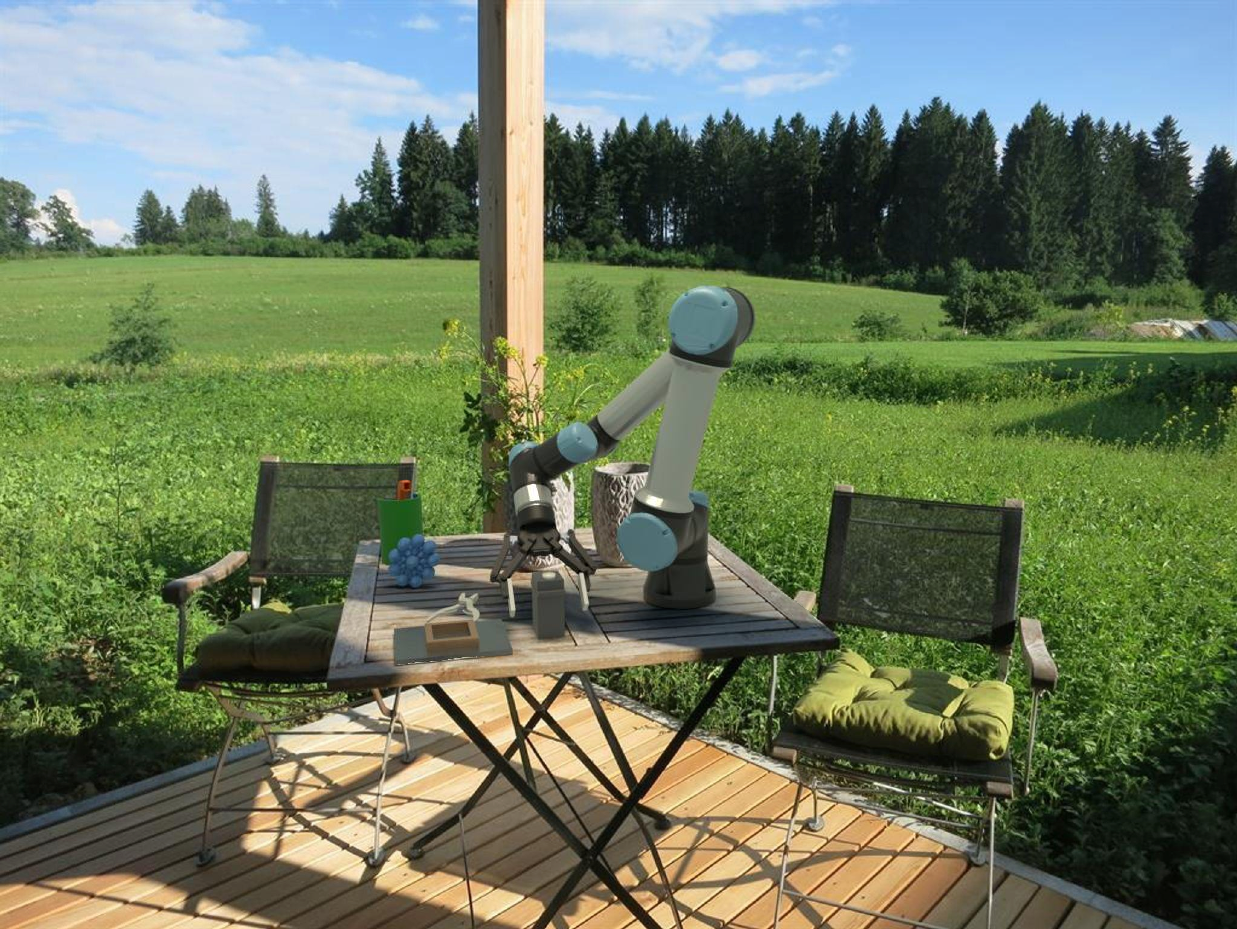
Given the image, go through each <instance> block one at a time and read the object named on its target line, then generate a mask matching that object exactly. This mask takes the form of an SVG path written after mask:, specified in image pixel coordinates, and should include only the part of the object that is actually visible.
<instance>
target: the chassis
mask: <svg viewBox="0 0 1237 929" xmlns="http://www.w3.org/2000/svg"><path fill="white" fill-rule="evenodd" d="M393 636H394V637H393V640H394V643H393V644H394V646H393V647H394V666H395V667H397V666H396V665H398V664H408V663H415V662H430V661H441V662H443V661H442V660H448V659H454V658H462V657H476V656H477V657H481V656H491V657H498V656H509V655H510V656H511V655H513V651H514V650H513V647H512V644H511V642H510V638H509V636H508V633H507V631H506V627H505V625H504V623H503V621H502V618H497V619H486V620H478V621H474V619H473V618H472V619H461V620H450V621H439V622H438V621H437V622H429V623H427V622H426V623H424V624H423V625H421V626H418V625H417V626H409V627H400V628H397V627H396V628H393ZM481 658H482V657H481Z"/></svg>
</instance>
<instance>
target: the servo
mask: <svg viewBox="0 0 1237 929" xmlns="http://www.w3.org/2000/svg"><path fill="white" fill-rule="evenodd" d="M530 585H531V596H532V599H531V600H532V601H531V603H532V606H531V607H532V629H533V631H534V634H535V637H537V640H548V639H558V638H559V639H560V638H566V628H565V626H566V622H565V620H566V619H565V614H566V613H565V612H566V611H565V596H566V590H565V579H564V577H563V576H562V574H561V573H560V571H559V570H549V571H534V572H533V571H532V572H531V579H530Z"/></svg>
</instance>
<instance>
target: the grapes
mask: <svg viewBox="0 0 1237 929" xmlns="http://www.w3.org/2000/svg"><path fill="white" fill-rule="evenodd" d="M436 550H437V543H436V542H435V541H434V540H431V539H430V540H429V539H428V540H427V541H426V540H425V536H424V534H423V535H421V534H417V535H415V536H413V538H412V539H411V540H410V539H409V538H402V539H400V540H399V542H398V549H393V550H392V551H391V552H390V553H389V560H390V561H391V562H393V563H392V564H391V565H388V568H387V573H388V575H389V576H390V577H396V578H395V579H396V580H395V581H396V585H398V587H405V586H407V585H408V584H409V585H410V587H411V588H415V589H417V588H418V587H420V586H422V584H423V582H424V580H425V581H430V580H431V579H433V578H434V577H435V575H436V569H435V568H434V567H436V566H438V565H439V564H440V561H441V556H440V554H439V553H437V552H435V551H436Z"/></svg>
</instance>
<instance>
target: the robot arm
mask: <svg viewBox="0 0 1237 929" xmlns="http://www.w3.org/2000/svg"><path fill="white" fill-rule="evenodd" d="M668 315H669V316H668V322H667V323H668V332H669V334H670V336H671V342H670V345H669V348H668V349H667V350H666V351H664V353H662V354H661V355H660V356H659V357H658V358H657V359H656V360H654V362H653V363H651V364H650V365H649V366H648V367H647V368H645V370H644V371H643V372H642V373H641V374H640V375H638V376H637V377H636V378H635V379H634V380H633V381H632V382H631V383H630V384H628V385H627V386H626V387H625V388H624V389H623V390H622V391H621V392H620V393H618V394H617V395H616V396H615V397H614V398H613V399H612V400H611V401H610V402H609V403H607V404H606V405H605V406H604V407H603V408H602V409H601V410H600V411H599V412H598V413H596V414H595V415H594V416H593V417H592V418H591V419H590V420H588V421H587V423H585V424H583V422H581V421H576V422H574V423H573V422H572V423H571V424H570V425H568V426H565V427H563V428H562V429H561V430H560V431H559V432H556V433H555V434H554V435H552V436H551V437H550V438H548V439H546V440H545V441H543V442H542V443H538V442H535V441H524V442H523V443H517V444H516V445H514V446H513V447H512V448H511V449H510V451H509V452H508V453H509V454H508V472H509V475H510V480H511V486H512V490H513V492H512V494H513V501H514V502H513V503H514V510H515V515H516V516H515V518H516V523H517V532H518V535H511V534H510V533H508V532H506V533H504V534H503V538H502V546H501V548H500V551H499V552H498V555H497V558H496V560H495V562H494V564H493V567H492V568H491V571H490V574H489V582H491V583H493V584H494V583H498V584H499V586H500V593H501V598H502V600H507V602H508V610H509V612H508V613H509V617H510V618H515V614H516V605H515V604H516V603H515V597H514V590H513V589H514V588H513V582H512V580H513V579H512V576H513V575H514V574H515V572H516V571H517V570H518V569H519V567H520V566H521V565H522V563H523V562H524V561H526V559H527V558H528V557H529V556H530V557H532V558H538V557H549V556H550V555H552V557H554V558H555V559H558V560H559V561H560V562H562V563H563V564H564V565H565V566H567V568H569V569H570V570H571V571H572V572H574V573H575V574H576V575H577V576H578V577H577V584H578V585H577V586H578V590H579V596H580V603H581V608H582V611H583V612H585V611H588V608H589V606H590V605H589V604H590V602H589V597H588V593H590V590H591V588H592V585H591V579H590V576H595V574H596V572H597V570H598V565H597V563H596V562H595V561H594V559H593V558H592V557H591V556H590V554H589V553H588V552H587V550H586V549H585V548H584V546H583V545H582V544H581V543H580V541H579V540H578V539H577V537H576V534H575V531H574V529H572V528H569V529H568V530H567V531H566V532H565V531H564V532H559V530H558V528H557V521H556V516H555V511H554V503H553V498H552V492H551V484H550V483H551V482H552V481H554V480H555V479H557V478H559V477H560V476H561V475H563V474H565V473H567V472H569V471H570V470H572V469H574V468H576V467H579V466H581V465H584V464H587V463H589V462H593V461H595V460H598V459H602V458H606V457H608V456H609V455H610V454H612V453H614V451H615V450H617V447H618V446H619V443H620V442H621V441H622V440H623V439H624V438H625V437H627V436H628V435H629V434H631V433H632V431H633V430H635V429H636V428H637V427H638V426H639V425H640V424H642V423H643V422H644V421H645V420H646V419H647V418H649V417H650V416H651V415H652V414H653V413H654V412H655V411H657V410H658V409H659V408H660V407H661V406H662V405H664V406H663V410H662V414H661V418H660V423H659V426H658V431H657V435H656V438H655V441H654V442H655V444H654V447H653V452H652V454H651V459H650V463H649V467H648V472H647V476H646V478H645V483H644V486H641V487H640V488H639V489H637V490H635V492H634V494H633V495H634V496H633V498H632V502H631V503H632V504H631V507H630V511H629V515H627V516H626V517H624V519H623V521H622V522H621V523H620V525H619V526H618V529H617V533H616V544H617V546H618V547H617V548H618V550H619V552H620V553H621V555H622V557H623V558H624V560H625V561H626V562H627V563H628V564H629V565H630V566H632V567H634V568H635V569H638V570H640V571H643V572H647V575H646V578H645V581H644V583H643V588H642V589H643V591H642V596H643V600H644V601H645V602H646V603H648V604H650V605H653V606H656V607H659V608H660V607H661V608H666V609H680V610H681V609H682V610H684V609H686V610H687V609H696V608H702V607H705V606H708V605H711V604H713V603H714V602H716V597H717V596H716V595H717V594H716V593H717V589H716V588H717V587H716V585H715V581H714V578H713V575H712V572H711V569H710V565H709V559H708V557H709V556H708V554H709V552H708V548H709V510H710V506H709V497H708V494H707V493H706V492H704V491H702V490H696V489H692V485H693V481H694V478H695V474H696V470H697V465H698V462H699V458H700V454H701V451H702V446H703V443H704V438H705V435H706V432H707V427H708V424H709V420H710V416H711V412H712V407H713V405H714V401H715V396H716V393H717V389H718V385H719V381H720V377H721V375H723V374H725V373H726V372H727V371H730V370H731V367H732V364H733V361H734V357H735V353H736V350H737V349H738V348H739V347H740V346H742V345H743V344H744V343H745V342H747V340H748V339H749V338H750V336H752V333H753V330H754V328H755V324H756V311H755V308H754V305H753V304H752V301H751V300H750V299H749V297H748V296H747V295H746V294H744V292H742V291H740V290H738V289H736V288H733V287H725V286H723V287H720V286H712V285H708V284H707V285H700V286H697V287H694V288H691V289H689V290H687V291H685V292H683V294H681V295H680V296H678V297H677V299H676V300H675V302H674V303H673V305H672V306H671V310H670V312H669V314H668ZM561 541H562V542H564V544H566V545H568V547H569V549H570V550H571V551H572V553H573V554H574V555H575V556H574V555H573V554H572V553H570V552H569V551H568V550H566V549H565V547H563V545H562V544H561V543H560V542H561ZM515 544H517V545H518V546H519V547H520V549H519V551H518V552H517V553H516V555H515V556H514V558H513V559H511V561H510V563H509V564H508V565H507V567H506V568H505V569H504V570H503V572H502V573H501V571H502V568H503V565H504V564H505V561H506V558H507V556H508V554H509V551H510V549H511V548H513V547H515V546H514V545H515Z"/></svg>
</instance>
